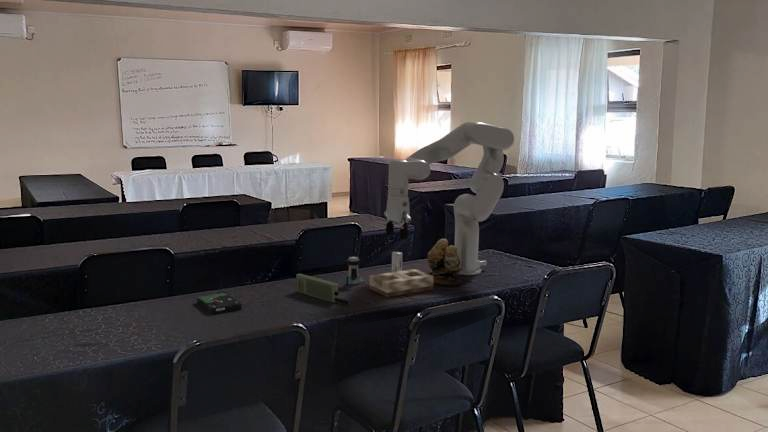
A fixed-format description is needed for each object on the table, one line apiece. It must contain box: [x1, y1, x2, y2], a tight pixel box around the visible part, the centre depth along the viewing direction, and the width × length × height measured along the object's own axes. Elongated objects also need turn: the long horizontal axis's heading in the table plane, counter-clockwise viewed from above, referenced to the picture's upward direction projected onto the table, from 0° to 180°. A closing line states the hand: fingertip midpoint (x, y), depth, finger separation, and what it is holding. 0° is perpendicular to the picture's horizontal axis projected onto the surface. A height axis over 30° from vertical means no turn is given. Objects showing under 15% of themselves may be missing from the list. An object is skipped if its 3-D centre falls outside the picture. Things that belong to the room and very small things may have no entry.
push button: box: [345, 256, 364, 286], centre depth 249 cm, size 7×5×10 cm
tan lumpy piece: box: [427, 238, 462, 288], centre depth 253 cm, size 18×12×17 cm, turn 37°
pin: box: [391, 251, 403, 272], centre depth 258 cm, size 4×4×10 cm
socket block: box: [368, 268, 434, 298], centre depth 243 cm, size 20×12×5 cm, turn 122°
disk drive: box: [196, 291, 243, 315], centre depth 220 cm, size 10×3×15 cm
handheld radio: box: [295, 273, 349, 305], centre depth 230 cm, size 7×3×25 cm
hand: (396, 236), depth 255 cm, fingers open, 9 cm apart
